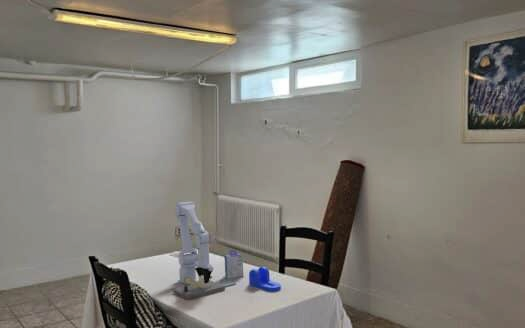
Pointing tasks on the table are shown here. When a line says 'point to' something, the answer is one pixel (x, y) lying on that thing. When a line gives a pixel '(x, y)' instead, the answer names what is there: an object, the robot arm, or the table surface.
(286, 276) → the table surface
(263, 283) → the bracket
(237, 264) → the ink cartridge box
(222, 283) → the mat
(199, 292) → the grey panel
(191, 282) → the brass flat bar
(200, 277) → the plug
